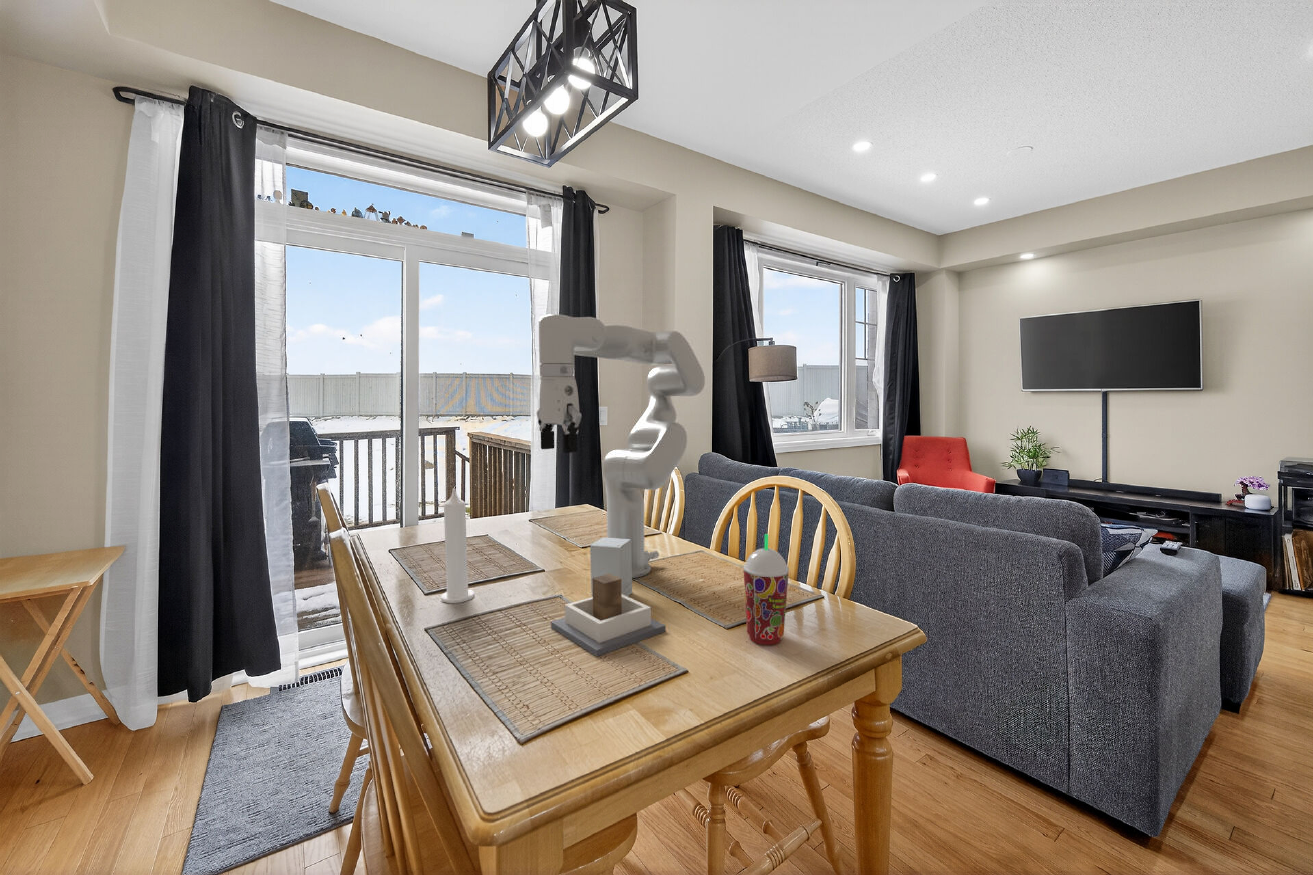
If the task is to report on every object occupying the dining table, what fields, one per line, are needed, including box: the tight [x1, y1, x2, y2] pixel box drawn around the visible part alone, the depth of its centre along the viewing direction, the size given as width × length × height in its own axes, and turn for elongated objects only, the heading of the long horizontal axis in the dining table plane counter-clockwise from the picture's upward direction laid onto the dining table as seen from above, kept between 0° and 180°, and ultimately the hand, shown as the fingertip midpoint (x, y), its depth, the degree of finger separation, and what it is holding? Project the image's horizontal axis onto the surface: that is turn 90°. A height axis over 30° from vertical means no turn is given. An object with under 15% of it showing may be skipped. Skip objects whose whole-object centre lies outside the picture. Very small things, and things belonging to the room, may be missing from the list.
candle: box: [440, 488, 475, 604], centre depth 126 cm, size 7×7×25 cm
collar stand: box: [550, 594, 666, 657], centre depth 110 cm, size 16×16×5 cm
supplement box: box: [589, 536, 633, 597], centre depth 127 cm, size 7×7×13 cm
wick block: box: [592, 574, 622, 621], centre depth 110 cm, size 4×4×9 cm
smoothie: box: [742, 533, 790, 646], centre depth 105 cm, size 8×8×20 cm
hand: (558, 450), depth 125 cm, fingers open, 9 cm apart
